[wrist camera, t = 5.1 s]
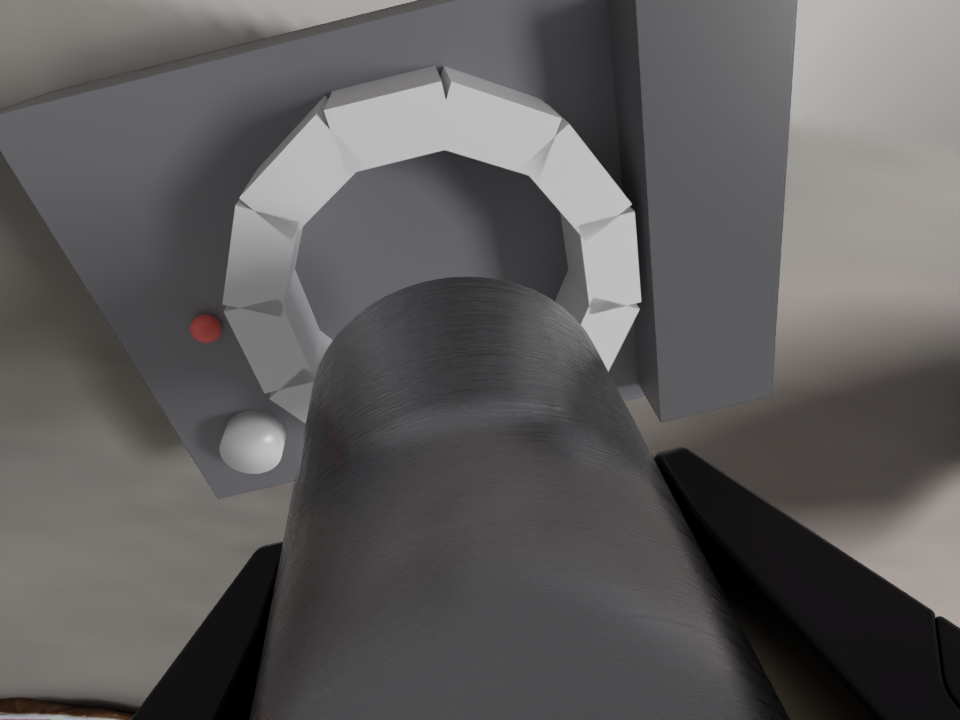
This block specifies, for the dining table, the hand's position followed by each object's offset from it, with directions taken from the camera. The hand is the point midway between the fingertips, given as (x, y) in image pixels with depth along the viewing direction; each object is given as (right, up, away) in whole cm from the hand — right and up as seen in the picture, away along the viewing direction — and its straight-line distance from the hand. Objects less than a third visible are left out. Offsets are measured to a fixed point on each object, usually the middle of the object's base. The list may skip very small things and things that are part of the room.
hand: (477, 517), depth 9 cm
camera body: (-1, +6, +9) cm, 11 cm away
